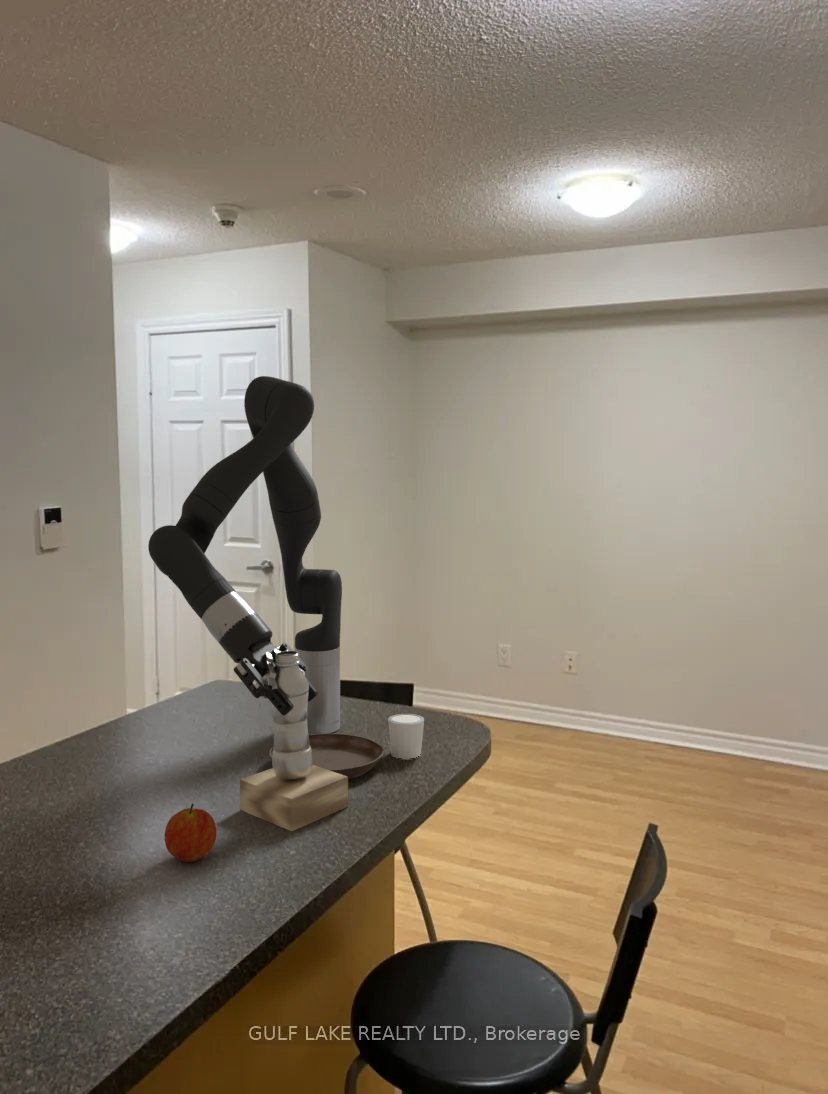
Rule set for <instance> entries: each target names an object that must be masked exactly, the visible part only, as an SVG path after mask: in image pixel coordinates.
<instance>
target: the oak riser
mask: <svg viewBox="0 0 828 1094" xmlns="http://www.w3.org/2000/svg"><path fill="white" fill-rule="evenodd" d="M239 792H240V793H239V795H240V797H239V799H240V806H239V807H240V811H241V812H243V813H247V814H249V815H252V816H253V817H256V818H259V819H262V820H264V821H265V822H268V823H271V824H273V825H275V826H278V827H280V828H282V829H284V830H287V831H290V832H294V831H296V830H298V829H300V828H303V827H306V826H307V825H309V824H312V823H315V822H317V821H319V820H321V819H324V818H325V817H328V816H331V815H332V814H335V813H337V812H339V810H340V811H341V810H344V809H346V807H347V808H348V807H349V779H348V776H345V775H342V774H339V773H336V772H333V771H330V770H327V769H324V768H321V767H318V766H315V765H313V767H312V770H311V771H310V773H309V774H308V775H307V776H305V777H303V778H299V779H293V780H285V779H280V778H278V777H277V776H276V774H275V773H274V770H273V767H272V768H268V769H266V770H263V771H260V772H258V773H255V774H252V775H249V776H246V777H243V778H241V779H240V780H239Z"/></svg>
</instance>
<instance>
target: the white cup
mask: <svg viewBox="0 0 828 1094" xmlns="http://www.w3.org/2000/svg"><path fill="white" fill-rule="evenodd" d="M387 719H388V720H387V721H388V722H387V723H388V731H389V732H388V733H389V744H390V754H391V757H393V758H394V757H396V758H395V759H398V758H402V759H401V760H411V759H410V758H415V759H417V758H419V757H421V755H422V747H423V746H422V745H423V735H424V726H425V725H424V724H425V718H424V717H423V716H421V715H419V714H414V713H399V714H394V715H391V716H389V717H387ZM420 754H421V755H420ZM418 756H419V757H418ZM416 757H417V758H416Z"/></svg>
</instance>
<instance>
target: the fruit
mask: <svg viewBox="0 0 828 1094" xmlns="http://www.w3.org/2000/svg"><path fill="white" fill-rule="evenodd" d="M217 832H218V831H217V826H216V823H215V820H214V818H213V817H212V815H211V814H210V813H209V812H208V811H206V810H204V809H202V808H194V803H191V804H190V807H189V808H187V807H186V808H184V809H182V810H180V811H178V812H176V813H175V814H173V815H172V816H171V817H170V818H169V819H168V821H167V824H166V826H165V830H164V844H165V848H166V850H167V851H168V853H169V854H170V855H171V856H172V857H174V858H176V859H178V860H180V861H182V862H184V863H189V864H190V863H192V862H193V863H194V862H196V861H197V862H198V861H199V860H201V859H203V858H204V857H205V856H207V855H208V854H209V853H210V852H211V851H212V849H213V847H214V846H215V844H216V840H217Z"/></svg>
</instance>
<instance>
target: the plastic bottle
mask: <svg viewBox="0 0 828 1094" xmlns="http://www.w3.org/2000/svg"><path fill="white" fill-rule="evenodd" d="M275 659H276V662H275V666H276V667H277V670H276V677H275V680H276V684H277V687H278V688H277V689H279V688H280V690H281V691H282V692H283V693H284V694H285V696H286V697H287V698H288V699H289V700H290V702H291V703H292V704H293V706H294V707H293V709H292V710H291V711H290V712H289V713H288V714H286V715H284V716H283V715H282V714H281V713H280V712H279V711H278V710H277V709H276V707H275V706H274V705H273V704H272V703H271V701H270V700H269V703H270V707H271V712H272V713H271V714H272V720H273V746H274V749H273V755H272V759H271V765H272V766H271V767H272V768H273V770H274V773H275V774H276V776H277V777H278V778H280V779H285V780H293V779H299V778H303V777H305V776H307V775H308V774H309V773H310V771H311V770H312V767H313V755H312V750H311V746H310V742H309V735H310V734H308V728H307V704H308V691H309V684H308V681H307V679H306V677H305V676H304V674H303V673H302V672H301V670H300V669H299V668H298V665H299V664H300V662H299V654H298V652H297V651H295V650H293V651H282V652H278V653H276V655H275Z"/></svg>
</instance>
